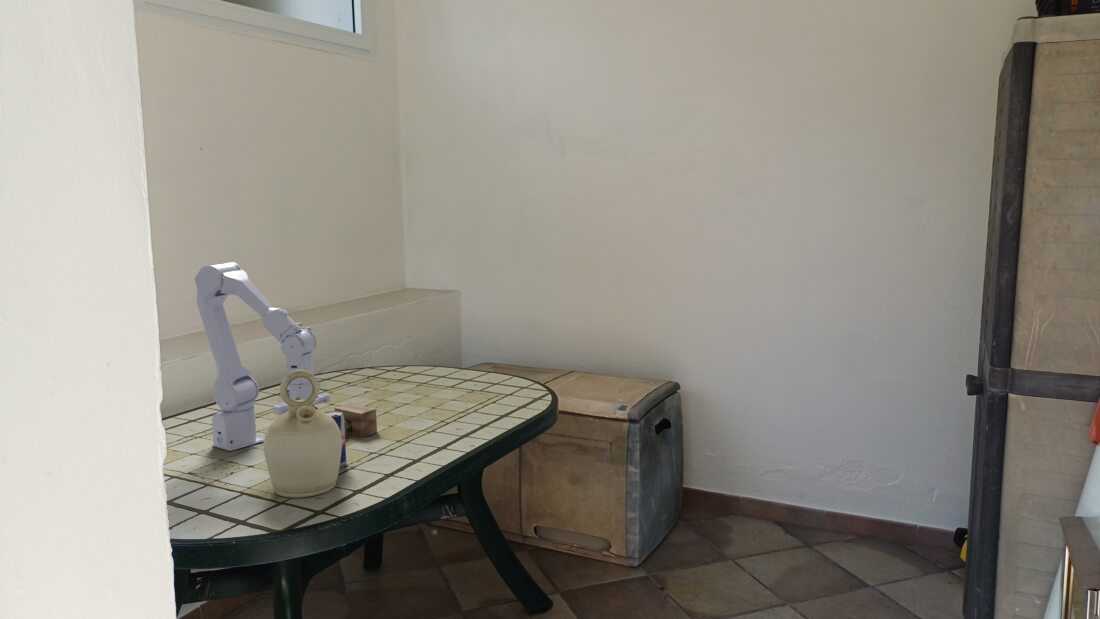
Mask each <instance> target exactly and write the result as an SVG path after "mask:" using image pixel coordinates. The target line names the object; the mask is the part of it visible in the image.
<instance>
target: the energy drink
mask: <svg viewBox="0 0 1100 619" xmlns="http://www.w3.org/2000/svg"><path fill="white" fill-rule="evenodd" d="M323 412H324V413H326V414H327V415H329V416H330V417H332V418H333V419H334V420H335V422H336V424H337V425H338V427H339V429H340V432H341V436H342V451H341V460H340V467H339V470H340V469H343V468H344V466H345V467H346V465H347V462H348V461H347V449H346V446H347V445H346V438H345V427H344V416H343V413H342V412H340V411H335V410H329V411H323Z"/></svg>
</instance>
